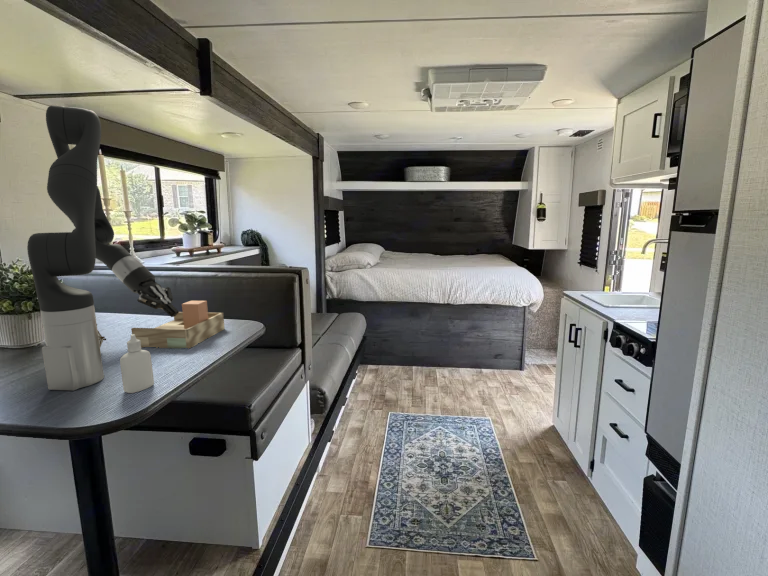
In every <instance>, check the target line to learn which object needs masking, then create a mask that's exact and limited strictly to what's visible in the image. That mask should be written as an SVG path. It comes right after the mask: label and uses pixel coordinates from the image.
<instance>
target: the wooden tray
mask: <svg viewBox="0 0 768 576" xmlns="http://www.w3.org/2000/svg"><path fill="white" fill-rule="evenodd" d="M224 330H225V317H224V312H209V311H208V319H206V320H204V321H202V322H200V323H198V324H196V325H194V326H192V327H189V328H187V329H184V322H183V312H182V311H179V313H178V314H177V315H176V316H174V317H173V320H171V321H170V320H169V321H168V322H165V323H163V324H159V326H156V327H132V328H131V335H133V334H135V337H136V339H138V340H140V342H141V348H144V347H156V348H155V349H181V348H188V349H187V350H189V348H190V349H191V347H192V348H193V347H195V346H197V345H198V343H199V344H200V343H202V342H204V341H206V340H208V339H209V338H211V337H213V336H214V335H216V334H218V333H220V332H222V331H224ZM207 338H208V339H207ZM205 339H206V340H205ZM158 347H159V348H158Z"/></svg>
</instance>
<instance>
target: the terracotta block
mask: <svg viewBox="0 0 768 576" xmlns="http://www.w3.org/2000/svg"><path fill="white" fill-rule="evenodd" d="M181 310H182V311H181V312H183V322H184V329H187V328H189V327H192V326H194V325H196V324H198V323H200V322H202V321H204V320H206V319H208V312H209V311H208V310H209V309H208V301H207V300H189V301H185V302H184V303H181Z"/></svg>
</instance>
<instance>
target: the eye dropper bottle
mask: <svg viewBox="0 0 768 576" xmlns="http://www.w3.org/2000/svg"><path fill="white" fill-rule="evenodd" d="M126 346H127V352H126V353H125V354H123V355H122V356H121V357H120V359H119V362H120V363H119V364H120V372H121V380H122V386H123V387H122V388H123V391H124V392H125V393H126V394H134V393H138V392H141V391H144V390H147V389H149V388H151V387H152V386H154V384H155V380H154V372H153V371H154V370H153V361H152V356H151V352H150V351H148V350H146V349H142V347H141V342H140V340H138V339H136V337H135V334H133V335H132V334H130V339H129V340H128V341H127V342H126Z"/></svg>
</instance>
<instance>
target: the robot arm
mask: <svg viewBox="0 0 768 576" xmlns="http://www.w3.org/2000/svg"><path fill="white" fill-rule="evenodd" d="M45 121H46V128H47V132H48V134H49V137H50V141H51V144H52V146H53V149H54V152H55V155H56V157H57V159H55V160H54V162H52V163H51V164H50V168H49V170H48V175H47V183H46V184H47V185H46V191H47V193H48V197H49V198H50V199H51V201H52V202H53V204H54V205H55V206H56V207H57V208H58V209H59V210H60V211H62V213H63V214H64V215H65V216H66V217H67V218H68V219H69V220H70V222H71V223H72V224H73V226H74V227H75V228H73V230H72V231H71V232H70V231H69V232H68V231H66V232H63V231H62V232H59V231H58V232H36V233H33V234H31V235H30V236H29V238H28V241H27V256H28V261H29V262H28V263H29V265H30V269H31V273H32V277H33V282H34V286H35V293H36V297H37V298H36V299H37V301H38V305H39V306H38V307H39V311H40V317H41V323H42V328H43V334H44V335H43V336H44V342H45V345H44V346H42V347H41V352H42V358H43V364H44V369H45V377H46V382H47V389H48V390H52V391H53V390H54V391H76V390H78V389H81V388H84V387H88V386H89V387H90V386H92V385H95V384H97V383H99V382H101V381H103V380H104V377H105V372H104V366H103V359H102V351H101V347H100V344H99V337H98V331H99V330H98V323H97V316H96V310H95V309H96V307H95V301H94V295H93V292H91V291H88V290H86V289H81V288H77V287H72V286H70V285H68V284H65V283H63V282H61V281H60V280H59V279H58V277H70V276H82V275H83V276H84V275H88V274H91V273H92V272H93V271H94V269H95V266H96V260H98V261H100V262H102V263H103V264H104V265H105V266H106V267H107V268H108V269H109V270H110V271H112V273H113V274H114V276H116V278H117V279H118V280H120V281H121V282H122V284H123V285H124V286H125V287H127V288H128V289H129V290H130V291H131V292H132V293H134V294H137V295H139V297H138V298H137V302H138V303H141V304H142V305H145V306H147V307H150V308H153V309H155V310H158V309H161V310H162V311H163V310H164V312H165V313H166V314H167V315H168V316H170V317H171V318H174V316H176V315H177V314H178V313H179V312H180V311H179V310H178V309H177V308H176V307H175V306H174V305H173V304H172V302H173V301H174V297H173V294H172V290H171V288H170V287H169V286H166V288H165V287H163V286H161V284H159V283H157V282H156V276H155V274H153V273H152V272H151V271H150V270H149V269H148V268H147V267H146V266H145V265H144V264H143V263H142V262H140V260H138V259H137V258H136V257H134V255H132V254H131V253H130V252H129V250H127V249H126V248H125V247H124V246H123V245H122V244H121V245H120V244H119V243H115V244H114V243H113V244H112V241H113V240H114V237H115V232H114V229H113V226H112V225H111V223H110V222H109V219H108V217H107V216H106V215H107V214H106V213H105V211H104V208H103V203H102V198H101V197H102V196H101V191H100V189H99V186H98V158H99V151H100V147H101V138H102V123H101V120H100V117H99V116H98V114H97V113H96V112H95V111H94V110H91V109H87V108H82V107H73V106H63V105H53V104H52V105H49V106H47V109H46V111H45ZM69 145H74V146H73V147H72V148H71V149H70V146H69ZM110 243H111V244H110Z"/></svg>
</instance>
